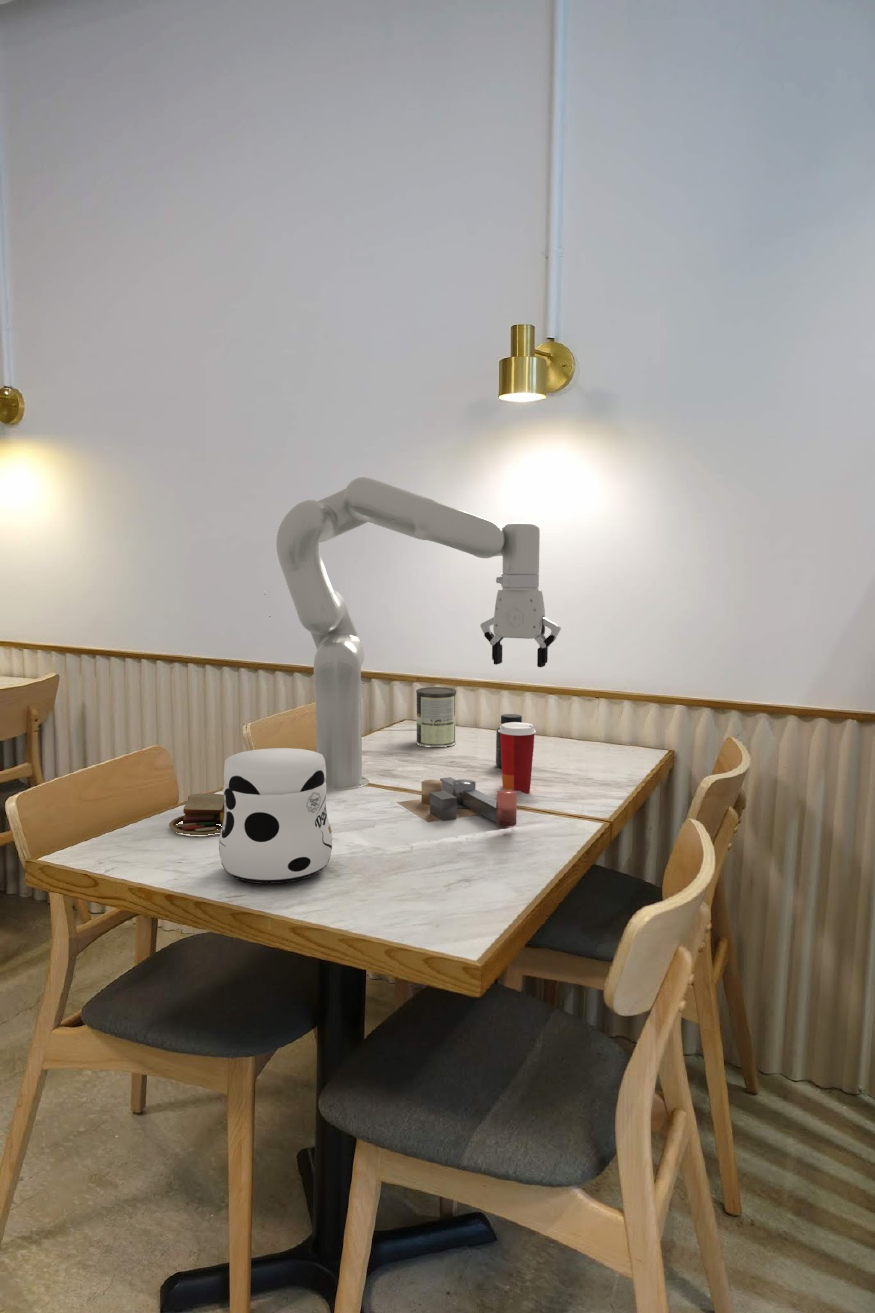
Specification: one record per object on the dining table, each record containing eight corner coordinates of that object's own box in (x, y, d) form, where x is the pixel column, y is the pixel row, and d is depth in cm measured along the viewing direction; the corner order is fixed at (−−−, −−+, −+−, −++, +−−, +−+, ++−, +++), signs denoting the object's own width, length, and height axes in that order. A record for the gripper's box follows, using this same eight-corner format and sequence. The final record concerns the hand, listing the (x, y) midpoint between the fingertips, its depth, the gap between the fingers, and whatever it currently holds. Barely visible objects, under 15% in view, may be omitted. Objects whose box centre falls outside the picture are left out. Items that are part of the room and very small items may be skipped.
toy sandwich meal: (158, 838, 156) (157, 812, 155) (185, 815, 169) (184, 791, 169) (228, 840, 155) (228, 813, 155) (250, 817, 169) (249, 792, 168)
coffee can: (407, 743, 232) (408, 689, 230) (438, 737, 239) (438, 685, 237) (433, 750, 224) (433, 694, 223) (464, 744, 231) (464, 690, 229)
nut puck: (427, 806, 172) (427, 785, 171) (418, 800, 176) (418, 780, 175) (445, 803, 174) (445, 783, 173) (436, 798, 177) (436, 778, 177)
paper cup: (537, 788, 189) (538, 722, 187) (531, 797, 182) (532, 729, 180) (501, 785, 191) (502, 720, 190) (493, 794, 184) (494, 727, 182)
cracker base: (429, 827, 162) (429, 801, 161) (397, 807, 175) (397, 782, 174) (505, 816, 169) (506, 790, 168) (469, 797, 182) (469, 773, 181)
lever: (435, 791, 179) (435, 763, 178) (455, 789, 181) (455, 761, 180) (500, 827, 156) (501, 796, 156) (522, 824, 158) (522, 793, 157)
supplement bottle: (526, 770, 204) (527, 718, 203) (496, 769, 204) (497, 718, 203) (524, 763, 211) (524, 712, 210) (495, 762, 211) (495, 712, 210)
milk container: (355, 870, 140) (354, 758, 138) (266, 902, 128) (264, 779, 125) (285, 846, 152) (284, 741, 150) (197, 873, 139) (194, 759, 137)
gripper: (474, 582, 185) (474, 664, 187) (554, 584, 178) (553, 669, 180) (488, 581, 192) (487, 660, 194) (566, 583, 184) (564, 665, 186)
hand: (519, 665), depth 187 cm, fingers open, 9 cm apart
